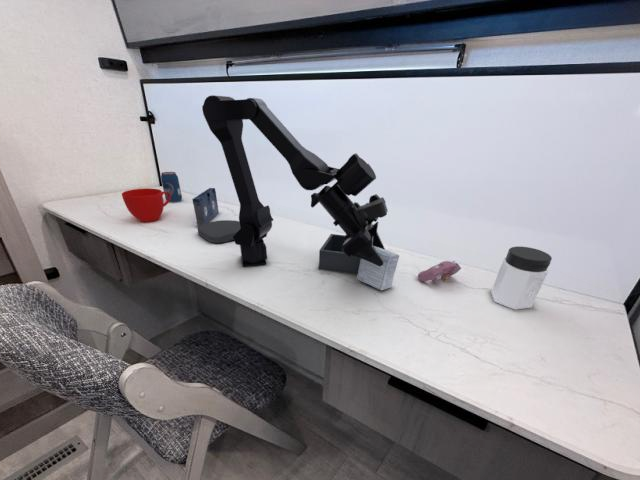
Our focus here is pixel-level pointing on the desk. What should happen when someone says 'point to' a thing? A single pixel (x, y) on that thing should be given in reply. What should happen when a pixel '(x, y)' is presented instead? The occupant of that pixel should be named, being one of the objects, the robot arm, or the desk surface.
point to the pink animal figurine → (439, 271)
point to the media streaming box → (219, 230)
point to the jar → (520, 277)
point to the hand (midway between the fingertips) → (383, 259)
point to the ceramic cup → (145, 203)
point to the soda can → (171, 186)
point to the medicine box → (379, 270)
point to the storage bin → (337, 256)
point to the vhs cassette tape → (206, 206)
